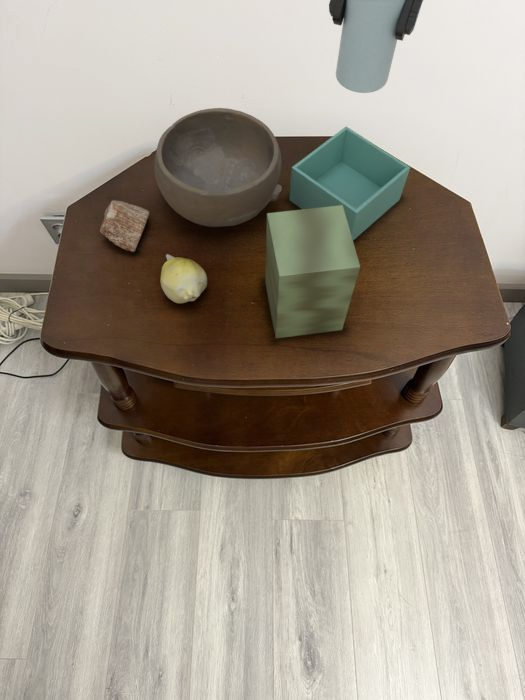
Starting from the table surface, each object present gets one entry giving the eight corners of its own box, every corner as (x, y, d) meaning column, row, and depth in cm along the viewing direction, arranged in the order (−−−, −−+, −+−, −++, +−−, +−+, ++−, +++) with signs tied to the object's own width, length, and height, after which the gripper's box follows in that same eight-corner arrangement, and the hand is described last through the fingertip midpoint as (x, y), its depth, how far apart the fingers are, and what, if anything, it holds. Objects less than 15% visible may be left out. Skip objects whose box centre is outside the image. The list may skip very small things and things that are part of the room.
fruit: (187, 251, 76) (222, 293, 71) (154, 277, 76) (188, 321, 71) (168, 227, 71) (205, 271, 66) (133, 255, 71) (168, 301, 66)
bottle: (396, 70, 57) (431, -69, 46) (373, 100, 55) (404, -38, 44) (350, 53, 59) (373, -86, 47) (326, 81, 57) (344, -58, 45)
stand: (328, 275, 74) (342, 204, 62) (342, 330, 70) (360, 266, 58) (265, 282, 74) (266, 213, 61) (275, 338, 69) (279, 276, 57)
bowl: (302, 200, 81) (307, 148, 72) (214, 265, 75) (209, 217, 66) (226, 142, 86) (222, 87, 77) (139, 199, 81) (125, 146, 72)
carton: (399, 199, 81) (410, 167, 75) (349, 244, 77) (356, 213, 71) (340, 160, 85) (346, 126, 79) (289, 200, 81) (291, 167, 75)
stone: (121, 261, 78) (139, 252, 74) (87, 238, 74) (104, 228, 71) (138, 222, 81) (156, 212, 77) (105, 199, 77) (123, 187, 74)
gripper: (347, -233, 43) (289, 0, 49) (526, -205, 41) (443, 36, 46) (355, -173, 50) (303, 25, 56) (508, -145, 48) (438, 58, 53)
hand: (367, 29), depth 51 cm, fingers closed on bottle, 5 cm apart
